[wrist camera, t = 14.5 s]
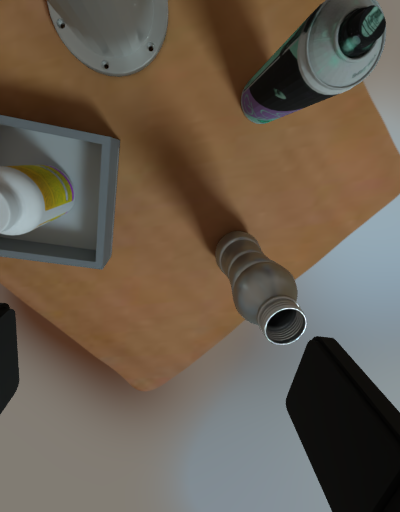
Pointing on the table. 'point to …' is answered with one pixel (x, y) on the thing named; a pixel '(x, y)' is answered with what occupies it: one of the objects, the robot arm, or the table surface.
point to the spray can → (318, 60)
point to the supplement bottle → (32, 197)
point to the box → (85, 184)
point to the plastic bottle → (261, 288)
